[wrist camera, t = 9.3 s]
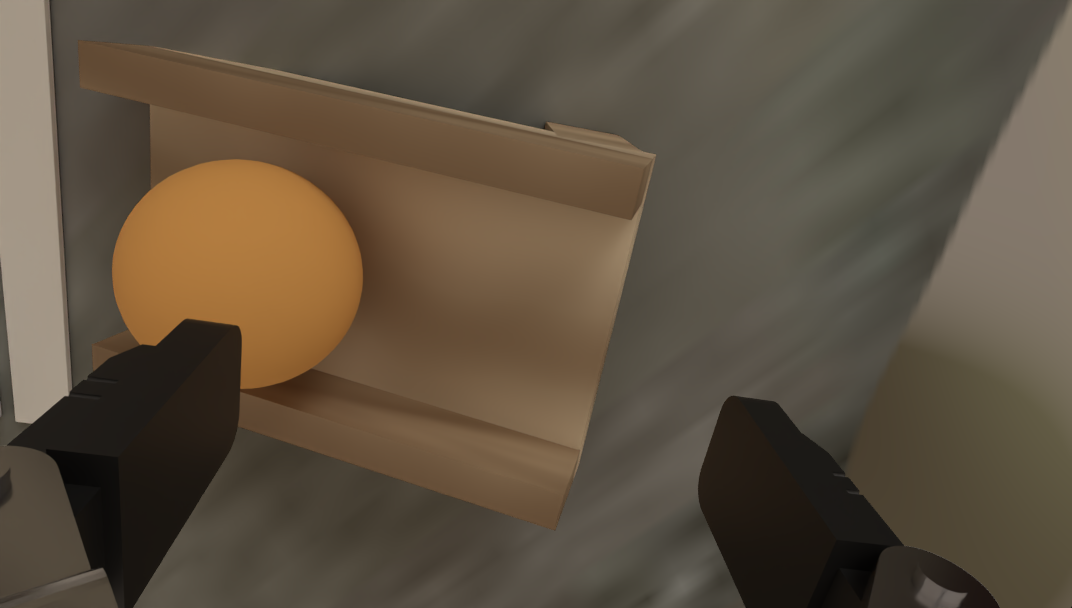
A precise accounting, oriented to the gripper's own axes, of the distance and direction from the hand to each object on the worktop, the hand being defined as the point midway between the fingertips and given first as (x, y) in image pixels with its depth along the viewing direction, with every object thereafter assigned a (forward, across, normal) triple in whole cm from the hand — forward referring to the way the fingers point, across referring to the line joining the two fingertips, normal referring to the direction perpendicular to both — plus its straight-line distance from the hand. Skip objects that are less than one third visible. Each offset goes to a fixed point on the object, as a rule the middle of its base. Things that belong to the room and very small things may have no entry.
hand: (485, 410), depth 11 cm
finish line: (+8, +12, 0) cm, 15 cm away
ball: (+5, +5, 0) cm, 7 cm away
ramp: (+9, +3, 0) cm, 9 cm away
